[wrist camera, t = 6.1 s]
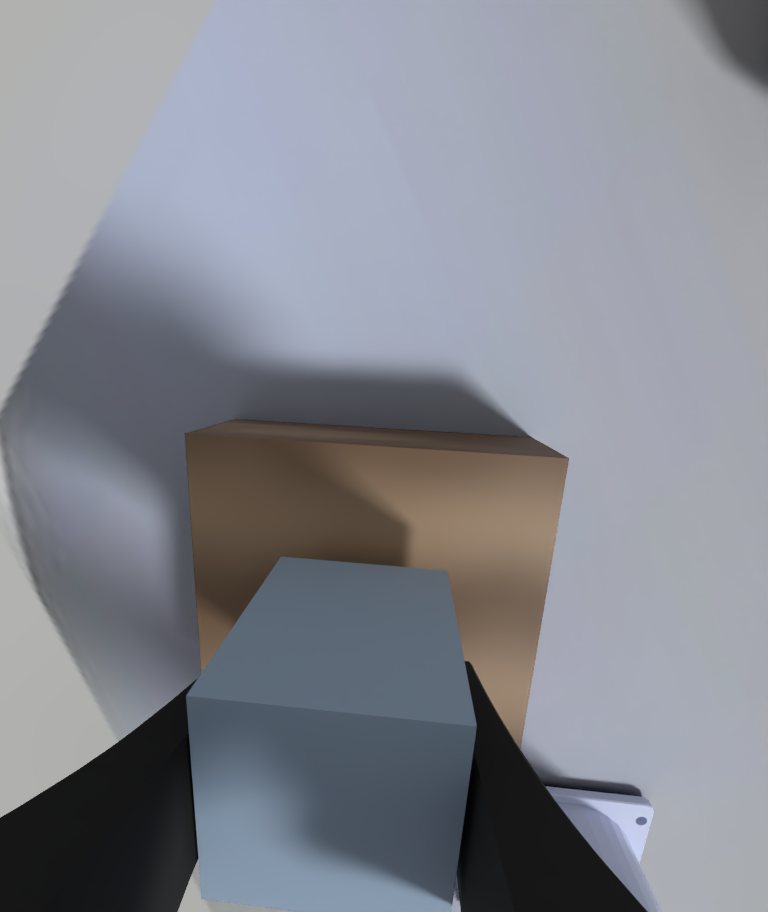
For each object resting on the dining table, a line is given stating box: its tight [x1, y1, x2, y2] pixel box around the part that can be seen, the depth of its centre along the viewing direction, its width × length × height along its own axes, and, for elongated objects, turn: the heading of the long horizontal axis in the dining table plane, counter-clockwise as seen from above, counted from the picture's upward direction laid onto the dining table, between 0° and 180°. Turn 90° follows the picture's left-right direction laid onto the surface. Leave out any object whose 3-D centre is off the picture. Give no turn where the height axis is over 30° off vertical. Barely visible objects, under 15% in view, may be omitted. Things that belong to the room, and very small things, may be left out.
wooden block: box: [185, 419, 569, 749], centre depth 15 cm, size 12×12×4 cm
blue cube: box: [186, 557, 477, 912], centre depth 9 cm, size 5×5×5 cm
